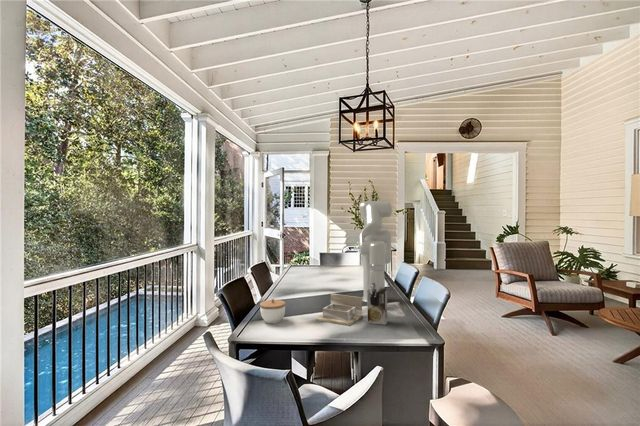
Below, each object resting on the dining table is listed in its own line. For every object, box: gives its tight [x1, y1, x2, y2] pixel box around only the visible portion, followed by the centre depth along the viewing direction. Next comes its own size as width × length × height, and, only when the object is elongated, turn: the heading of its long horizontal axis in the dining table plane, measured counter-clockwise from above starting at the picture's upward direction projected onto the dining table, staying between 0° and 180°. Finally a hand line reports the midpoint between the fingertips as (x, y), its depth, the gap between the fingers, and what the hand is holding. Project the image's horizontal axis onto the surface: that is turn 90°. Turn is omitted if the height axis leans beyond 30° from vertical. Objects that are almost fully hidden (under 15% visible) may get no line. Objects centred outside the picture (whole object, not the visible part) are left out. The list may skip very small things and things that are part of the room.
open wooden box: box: [315, 293, 363, 327], centre depth 184 cm, size 16×18×10 cm
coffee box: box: [366, 288, 388, 326], centre depth 177 cm, size 9×6×16 cm
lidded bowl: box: [259, 298, 286, 324], centre depth 180 cm, size 13×13×11 cm
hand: (377, 302), depth 177 cm, fingers open, 9 cm apart
